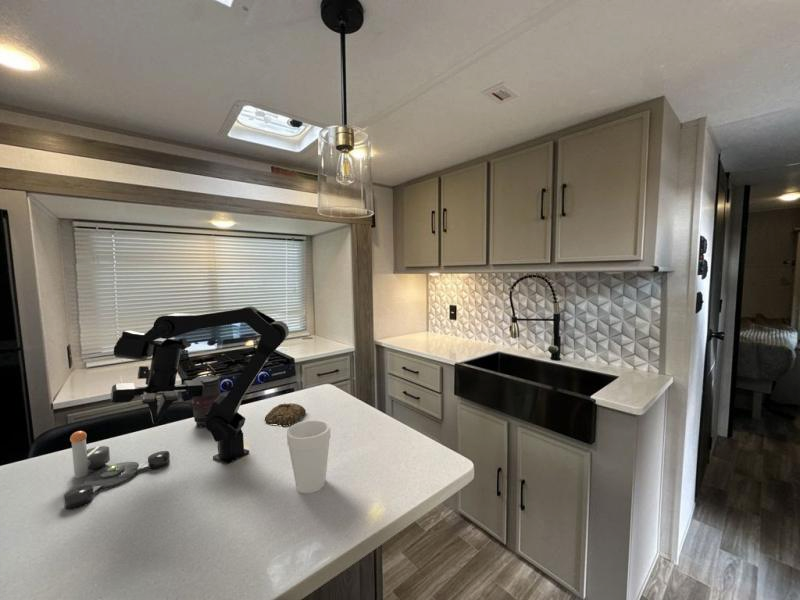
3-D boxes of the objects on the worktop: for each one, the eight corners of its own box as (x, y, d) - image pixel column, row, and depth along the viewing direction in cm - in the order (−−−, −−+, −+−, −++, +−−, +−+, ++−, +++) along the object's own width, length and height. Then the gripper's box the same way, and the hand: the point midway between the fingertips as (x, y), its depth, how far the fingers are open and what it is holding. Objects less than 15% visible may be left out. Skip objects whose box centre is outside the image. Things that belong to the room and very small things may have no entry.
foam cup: (339, 476, 78) (337, 422, 77) (317, 501, 69) (315, 441, 68) (305, 469, 81) (303, 417, 80) (280, 493, 72) (277, 435, 71)
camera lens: (209, 429, 104) (206, 382, 103) (187, 427, 106) (185, 381, 105) (227, 418, 112) (225, 375, 111) (207, 417, 114) (204, 374, 113)
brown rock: (310, 412, 116) (310, 398, 116) (291, 428, 104) (290, 413, 104) (278, 410, 119) (277, 396, 119) (256, 425, 107) (255, 410, 107)
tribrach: (174, 463, 85) (173, 453, 85) (69, 512, 67) (68, 500, 67) (138, 447, 93) (138, 438, 93) (37, 488, 76) (36, 477, 75)
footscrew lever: (86, 459, 85) (83, 419, 84) (114, 455, 87) (111, 416, 86) (61, 480, 76) (57, 436, 75) (93, 475, 78) (90, 432, 77)
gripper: (199, 354, 96) (190, 407, 96) (115, 354, 83) (105, 415, 83) (209, 365, 88) (199, 422, 88) (117, 367, 75) (106, 434, 75)
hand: (155, 423), depth 84 cm, fingers closed
